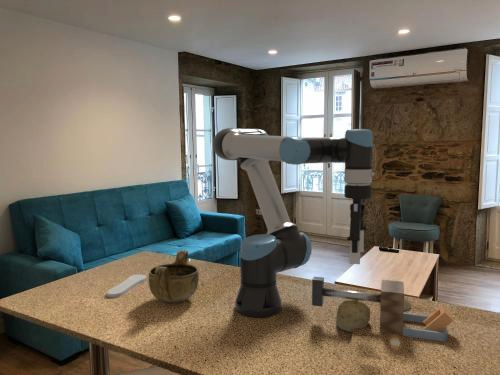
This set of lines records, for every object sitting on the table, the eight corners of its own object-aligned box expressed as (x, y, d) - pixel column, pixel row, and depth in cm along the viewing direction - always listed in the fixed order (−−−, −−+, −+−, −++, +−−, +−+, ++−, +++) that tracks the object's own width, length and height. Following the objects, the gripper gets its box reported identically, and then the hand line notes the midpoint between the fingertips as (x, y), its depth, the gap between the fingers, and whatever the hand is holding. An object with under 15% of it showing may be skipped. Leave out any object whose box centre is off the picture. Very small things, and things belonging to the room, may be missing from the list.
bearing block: (379, 336, 113) (380, 291, 111) (380, 321, 122) (381, 279, 121) (402, 339, 111) (404, 293, 109) (401, 324, 120) (403, 281, 119)
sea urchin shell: (415, 310, 126) (397, 291, 126) (396, 326, 127) (377, 307, 128) (410, 299, 135) (392, 281, 135) (392, 314, 136) (375, 297, 137)
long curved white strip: (149, 279, 163) (149, 275, 163) (119, 299, 142) (118, 295, 141) (134, 278, 165) (133, 273, 165) (101, 298, 143) (101, 293, 143)
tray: (402, 340, 110) (403, 328, 110) (401, 323, 121) (402, 312, 120) (447, 346, 107) (447, 334, 106) (442, 329, 117) (443, 317, 117)
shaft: (311, 305, 122) (312, 279, 121) (313, 301, 125) (314, 276, 124) (387, 314, 115) (388, 287, 114) (387, 310, 118) (388, 284, 117)
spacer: (424, 329, 111) (444, 312, 109) (423, 321, 116) (442, 305, 114) (433, 337, 110) (453, 320, 108) (431, 329, 115) (450, 313, 113)
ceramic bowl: (164, 287, 152) (163, 248, 151) (207, 290, 149) (207, 250, 147) (136, 311, 130) (134, 266, 129) (186, 315, 127) (185, 269, 125)
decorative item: (341, 343, 115) (364, 326, 110) (323, 312, 121) (344, 294, 115) (361, 336, 122) (383, 319, 116) (343, 307, 127) (363, 290, 121)
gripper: (369, 188, 102) (367, 270, 105) (374, 180, 126) (372, 247, 128) (339, 188, 105) (338, 268, 107) (349, 180, 128) (348, 246, 130)
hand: (356, 257), depth 117 cm, fingers open, 13 cm apart
